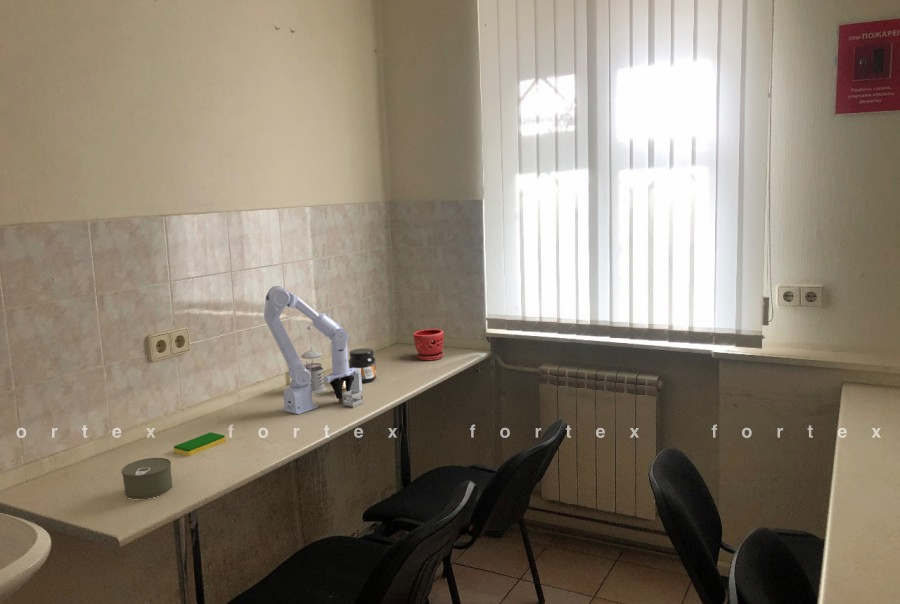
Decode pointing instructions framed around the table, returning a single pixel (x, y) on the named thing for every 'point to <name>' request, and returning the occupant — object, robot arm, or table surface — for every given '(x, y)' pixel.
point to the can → (147, 478)
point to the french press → (314, 370)
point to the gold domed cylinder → (343, 391)
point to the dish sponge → (199, 444)
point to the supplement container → (363, 363)
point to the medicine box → (356, 381)
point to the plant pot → (429, 344)
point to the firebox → (352, 398)
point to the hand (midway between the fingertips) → (342, 397)
